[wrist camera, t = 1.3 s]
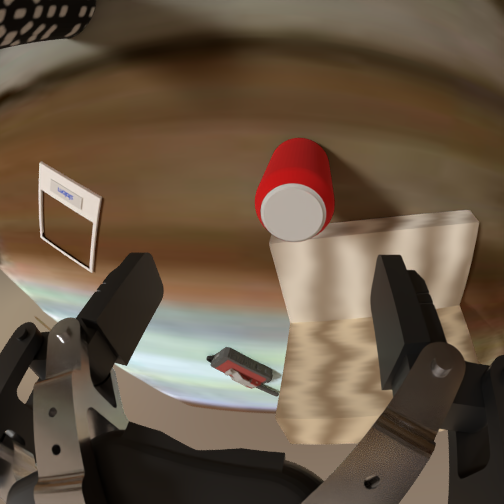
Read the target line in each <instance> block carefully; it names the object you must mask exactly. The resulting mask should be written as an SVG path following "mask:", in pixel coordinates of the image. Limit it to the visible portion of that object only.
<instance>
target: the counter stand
mask: <svg viewBox="0 0 504 504" xmlns="http://www.w3.org/2000/svg"><path fill="white" fill-rule="evenodd" d="M478 226H479V221H478V220H477V219H476V217H475V216H474V215H473V214H472V212H471V211H470V210H461V211H450V212H438V213H427V214H416V215H406V216H396V217H386V218H376V219H366V220H357V221H347V222H338V223H329V224H328V225H327V227H326V228H325V229H324V230H323V231H322V232H321V233H319V234H318V235H316V236H314V237H313V238H311V239H308V240H306V241H302V242H287V241H283V240H281V239H278V238H276V237H275V236H273V235H271V238H270V242H269V245H270V249H271V253H272V256H273V260H274V263H275V267H276V271H277V274H278V278H279V282H280V286H281V289H282V293H283V297H284V300H285V304H286V308H287V312H288V316H289V319H290V330H289V337H288V343H287V350H286V357H285V363H284V370H283V376H282V382H281V388H280V394H279V400H278V405H277V411H276V417H275V418H276V420H277V422H278V424H279V425H280V427H281V429H282V430H283V431H284V434H285V435H286V437H287V439H288V440H289V442H290V443H291V444H348V443H359V442H360V441H361V440H362V438H363V437H364V436H365V435H366V433H367V432H368V431H369V430H370V428H371V427H372V426H373V424H374V423H375V422H376V420H377V419H378V418H379V416H380V415H381V414H382V413H383V411H384V410H385V409H386V407H387V406H388V404H389V403H390V401H391V400H392V398H393V393H392V390H382V389H381V379H380V369H379V360H378V352H377V345H376V338H375V331H374V325H373V318H372V312H371V305H370V295H371V288H372V283H373V278H374V272H375V267H376V261H377V257H378V255H401V256H402V259H403V261H404V264H405V266H406V269H407V270H415V271H416V272H417V273H418V274H419V275H420V276H421V277H422V278H423V279H424V280H425V283H426V285H427V288H428V290H429V295H431V298H432V300H433V305H434V306H435V308H436V311H437V314H438V317H439V319H440V322H441V325H442V328H443V331H444V334H445V337H446V340H447V343H448V344H451V345H453V346H454V347H456V348H457V349H458V350H459V351H460V352H461V354H462V355H463V357H464V360H465V361H468V362H472V363H477V364H479V363H478V359H477V355H476V352H475V349H474V345H473V342H472V339H471V336H470V333H469V330H468V327H467V324H466V321H465V319H464V316H463V313H462V311H461V308H460V302H461V299H462V295H463V292H464V288H465V285H466V281H467V277H468V274H469V270H470V266H471V261H472V257H473V252H474V248H475V243H476V238H477V232H478ZM439 431H444V429H439ZM439 431H438V432H439Z"/></svg>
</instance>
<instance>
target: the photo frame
mask: <svg viewBox="0 0 504 504" xmlns="http://www.w3.org/2000/svg"><path fill="white" fill-rule="evenodd" d="M43 191H44V192H46V193H47V194H49V195H50V196H52V197H53V198H55V199H56V200H58V201H60V202H61V203H63V204H64V205H66V206H67V207H69V208H71V209H72V210H74V211H75V212H77V213H78V214H80V215H82V216H83V217H85V218H86V219H88V220H90V221H91V222H93V232H92V242H91V254H90V269H89V268H88V267H86V266H84V265H83V264H81V263H80V262H78V261H77V260H75V259H74V258H72V257H71V256H69V255H68V254H66V253H65V252H64V251H62V250H61V249H59V248H58V247H56V246H55V245H54V244H52V243H51V242H49V241H48V240H47V239H45V238H44V237H42V233H43V232H44V229H43ZM101 201H102V197H101V196H99V195H98V194H96V193H94V192H92V191H91V190H89V189H87V188H86V187H84V186H82V185H80V184H79V183H77V182H75V181H74V180H72V179H70V178H69V177H67V176H65V175H63V174H62V173H60V172H58V171H57V170H55V169H53V168H52V167H50V166H48V165H47V164H45V163H43V162H42V161H41V162H40V165H39V220H40V236H41V238H42V239H43V240H45V241H46V242H47V243H49V244H50V245H52V246H53V247H54V248H56V249H57V250H59V251H60V252H61V253H63V254H64V255H66V256H67V257H69V258H70V259H72V260H73V261H75V262H76V263H78V264H79V265H81V266H82V267H84V268H85V269H87V270H88V271H90V272H91V273H92V272H93V268H94V256H95V245H96V236H97V228H98V221H99V213H100V207H101Z"/></svg>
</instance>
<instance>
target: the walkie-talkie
mask: <svg viewBox="0 0 504 504" xmlns="http://www.w3.org/2000/svg"><path fill="white" fill-rule="evenodd" d="M207 361H209V362H210V363H211V366H212V367H213V368H215V369H217V370H219V371H221V372H223V373H225V375H229V376H230V377H231V378H232V380H234V381H236V382H238V383H240V384H242V385H244V386H246V387H249V388H255V387H256V388H258V389H260V390H263V391H265V392H267V393H269V394H272V395H274V396H278V395H279V393H278V392H275V391H273V390H271V389H269V388H266V387H264V386H262V384H264V383H266V382H267V383H268V382H270V381H271V379H272V369H270V368H268V367H266V366H264V365H262V364H260V363H258V362H257V361H254V360H253V359H251V358H249V357H246V356H244V355H242V354H241V353H239V352H237V351H235V350H233V349H231V348H229V347H225V348H224V349H223V350H221V351H220V352H218V353H217V354H215V355H214V356H213V357H212V356H207Z"/></svg>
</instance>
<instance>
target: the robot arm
mask: <svg viewBox="0 0 504 504" xmlns="http://www.w3.org/2000/svg"><path fill="white" fill-rule="evenodd" d="M163 291H164V290H163V284H162V281H161V278H160V276H159V273H158V270H157V268H156V265H155V262H154V260H153V257H152V255H151V254H150V253H130V254H129V255H128V256H127V257H126V258H125V259H124V261H123V262H122V263H121V264H120V266H118V267H117V268H116V269H115V270H113V271H112V272H111V273H110V274H109V275H108V276H107V277H106V279H105V280H104V281H103V284H101V285H100V286H99V288H98V289H97V292H95V293H94V294H93V296H92V297H91V298H90V300H89V301H88V302H87V304H86V305H85V306H84V308H83V309H82V311H81V312H80V313H79V315H78V316H77V317H76V319H75V318H66V319H63V320H61V321H59V322H58V323H57V324H56V325H55V326H54V327H53V328H52V329H51V331H50V332H42V333H40V331H39V330H38V329H37V327H36V326H35V324H33V323H31V322H27V323H24V324H23V325H21V326H20V327H18V328H17V330H16V331H15V332H14V333H13V335H12V336H11V338H10V339H9V341H8V343H7V344H6V346H5V347H4V349H3V350H2V352H1V353H0V498H1V499H2V500H3V501H4V502H6V504H399V502H400V501H401V500H402V498H403V497H404V496H405V494H406V493H407V492H408V490H409V489H410V487H411V486H412V485H413V483H414V482H415V480H416V479H417V477H418V476H419V474H420V473H421V471H422V470H423V468H424V467H425V465H426V463H427V462H428V460H429V459H430V457H431V455H432V453H433V451H434V448H435V444H436V443H435V442H434V439H435V437H436V435H437V433H438V431H439V429H444V430H448V439H449V496H448V504H504V355H501V356H499V357H497V358H496V359H495V360H494V361H493V363H492V364H491V365H490V366H488V365H482V364H477V363H472V362H468V361H465V360H464V357H463V355H462V354H461V352H460V351H459V350H458V349H457V348H456V347H454V346H453V345H451V344H448V343H447V340H446V337H445V334H444V331H443V328H442V325H441V322H440V319H439V317H438V314H437V311H436V308H435V306H434V305H433V300H432V298H431V295H429V290H428V288H427V285H426V283H425V280H424V279H423V278H422V277H421V276H420V275H419V274H418V273H417V272H416V271H415V270H407V269H406V266H405V264H404V261H403V259H402V256H401V255H378V257H377V261H376V267H375V272H374V278H373V283H372V288H371V295H370V305H371V312H372V318H373V325H374V331H375V338H376V345H377V352H378V360H379V369H380V379H381V389H382V390H392V393H393V398H392V400H391V401H390V403H389V404H388V406H387V407H386V409H385V410H384V411H383V413H382V414H381V415H380V416H379V418H378V419H377V420H376V422H375V423H374V424H373V426H372V427H371V428H370V430H369V431H368V432H367V433H366V435H365V436H364V437H363V438H362V440H361V441H360V442H359V443H358V445H357V446H356V447H355V448H354V449H353V451H352V452H351V453H350V454H349V455H348V456H347V457H346V459H345V460H344V461H343V462H342V463H341V464H340V465H339V467H337V469H336V470H335V471H334V472H333V473H332V474H331V475H330V476H329V477H328V478H327V479H326V480H325V481H323V480H322V479H321V478H320V477H318V476H317V475H316V474H314V473H313V472H312V471H309V470H308V469H306V468H305V467H302V466H300V465H297V464H296V463H293V462H290V461H286V460H285V453H280V452H268V451H259V450H250V449H242V448H240V449H225V450H195V449H192V448H190V447H188V446H186V445H184V444H183V443H181V442H179V441H177V440H175V439H173V438H171V437H170V436H168V435H166V434H165V433H163V432H161V431H158V430H154V429H151V428H148V427H144V426H141V425H138V424H135V423H132V422H129V421H128V419H127V418H126V416H125V414H124V410H123V406H122V402H121V398H120V393H119V388H118V384H117V378H116V374H115V371H114V369H113V368H112V367H113V365H114V363H118V364H122V365H126V366H127V364H128V362H129V360H130V358H131V356H132V354H133V353H134V351H135V349H136V347H137V345H138V343H139V341H140V339H141V337H142V335H143V333H144V332H145V330H146V328H147V326H148V324H149V322H150V320H151V319H152V317H153V315H154V313H155V311H156V309H157V308H158V306H159V304H160V302H161V300H162V298H163ZM28 367H30V368H31V369H32V370H33V371H34V372H35V374H36V375H37V376H38V377H39V379H38V381H37V382H36V383H35V385H34V389H33V391H32V393H31V395H30V396H29V399H28V401H27V403H26V404H24V403H23V402H21V401H20V400H19V399H18V396H17V388H18V386H19V384H20V382H21V380H22V378H23V376H24V374H25V373H26V371H27V369H28ZM6 430H7V432H5V431H6ZM36 463H37V464H36Z"/></svg>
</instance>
